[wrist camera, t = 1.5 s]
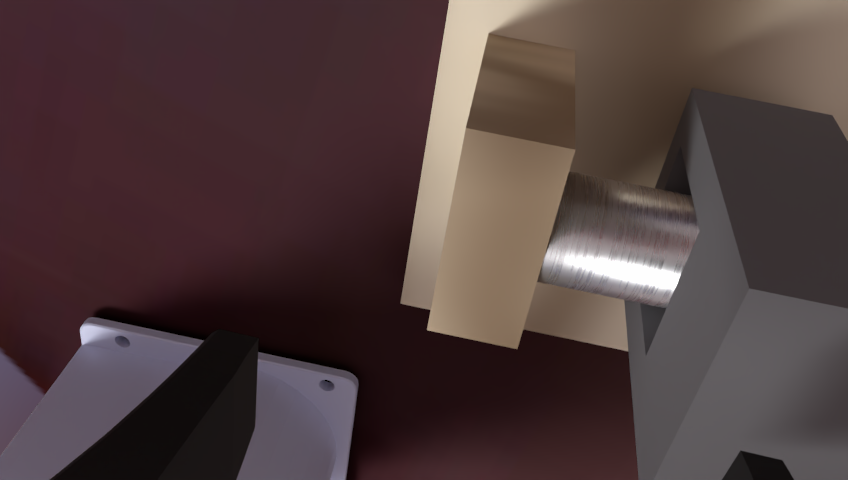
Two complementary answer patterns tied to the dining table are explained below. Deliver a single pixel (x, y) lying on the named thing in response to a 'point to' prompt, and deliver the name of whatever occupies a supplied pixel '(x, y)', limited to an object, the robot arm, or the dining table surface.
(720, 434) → the collar
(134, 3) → the dining table surface
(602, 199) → the pipe
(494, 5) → the pipe stand
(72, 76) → the dining table surface
